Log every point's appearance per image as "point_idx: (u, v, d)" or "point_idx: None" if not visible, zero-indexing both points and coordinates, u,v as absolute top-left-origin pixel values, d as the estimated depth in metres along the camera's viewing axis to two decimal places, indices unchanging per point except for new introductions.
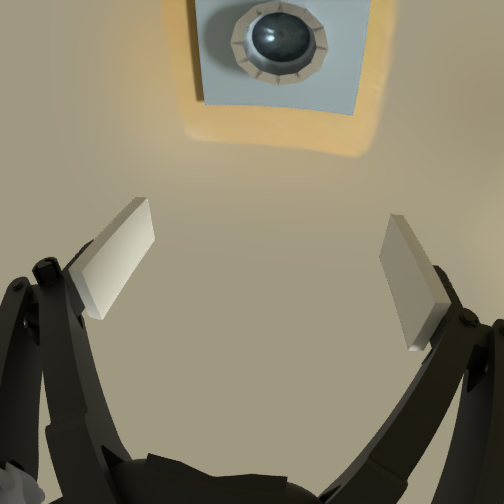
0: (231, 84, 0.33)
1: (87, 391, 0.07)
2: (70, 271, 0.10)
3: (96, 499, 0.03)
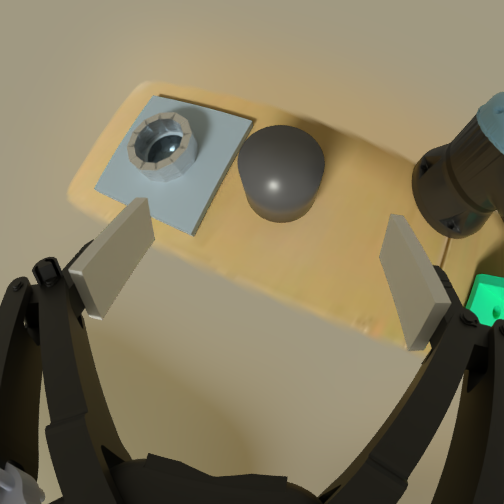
0: (154, 114, 0.45)
1: (87, 391, 0.07)
2: (70, 271, 0.10)
3: (96, 499, 0.03)
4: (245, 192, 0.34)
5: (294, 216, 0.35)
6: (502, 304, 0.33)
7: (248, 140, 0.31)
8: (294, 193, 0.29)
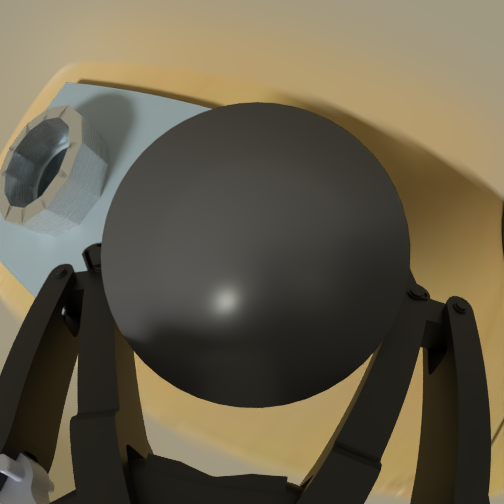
0: None
1: (122, 386, 0.07)
2: None
3: (96, 499, 0.03)
4: None
5: None
6: None
7: (142, 160, 0.09)
8: (294, 381, 0.07)
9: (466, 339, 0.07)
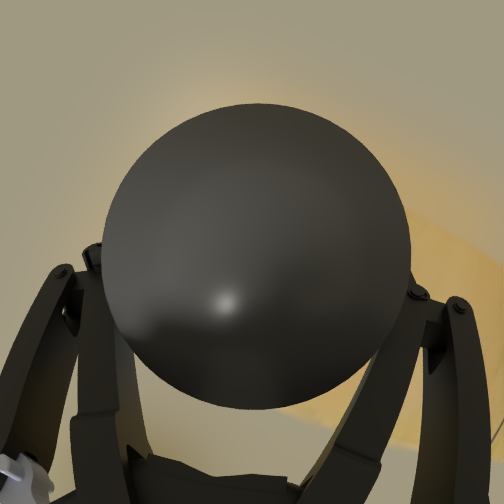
0: None
1: (122, 386, 0.07)
2: None
3: (96, 499, 0.03)
4: None
5: None
6: None
7: (142, 162, 0.09)
8: (294, 383, 0.07)
9: (466, 339, 0.07)
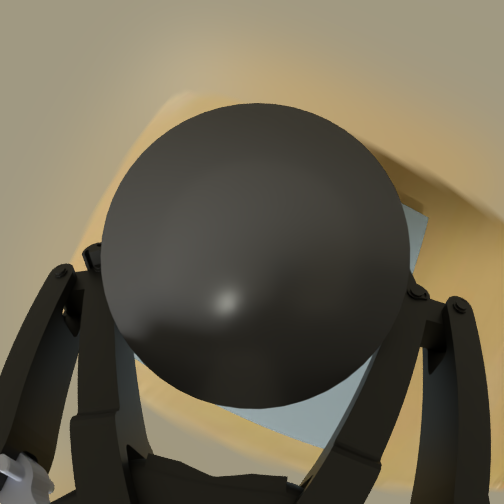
0: None
1: (122, 386, 0.07)
2: None
3: (96, 499, 0.03)
4: None
5: None
6: None
7: (142, 161, 0.09)
8: (294, 383, 0.07)
9: (466, 339, 0.07)
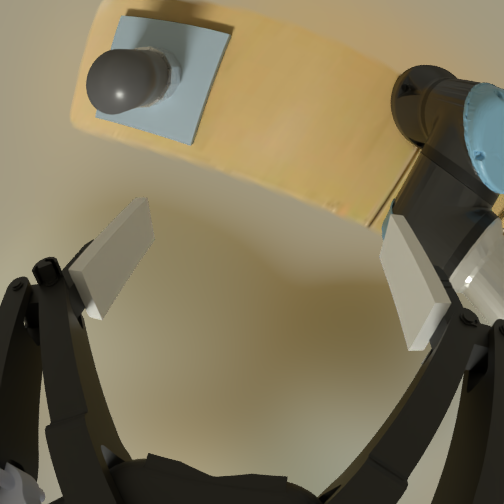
0: (129, 36, 0.35)
1: (87, 391, 0.07)
2: (70, 271, 0.10)
3: (96, 499, 0.03)
4: None
5: (147, 103, 0.37)
6: None
7: (90, 71, 0.29)
8: (124, 106, 0.32)
9: None
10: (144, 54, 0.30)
